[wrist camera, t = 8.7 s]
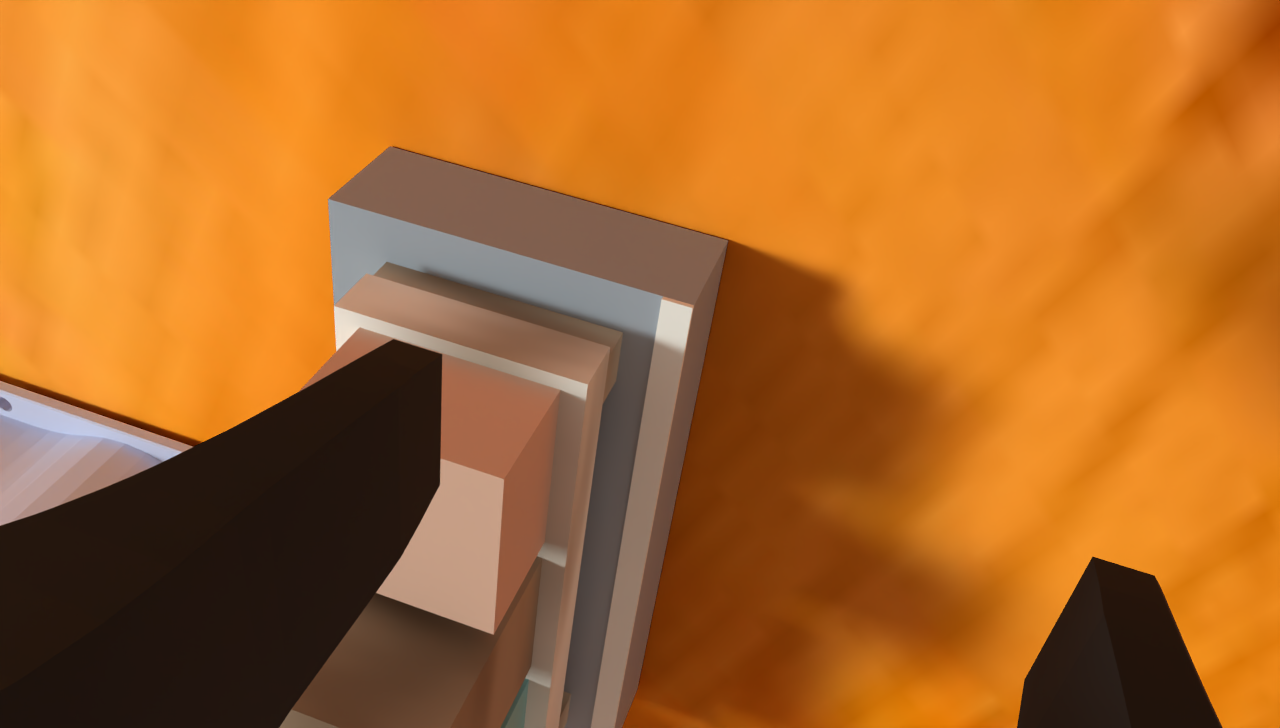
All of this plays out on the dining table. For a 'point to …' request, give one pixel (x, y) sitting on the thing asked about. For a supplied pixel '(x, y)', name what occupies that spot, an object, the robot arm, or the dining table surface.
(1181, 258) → the dining table surface
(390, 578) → the block
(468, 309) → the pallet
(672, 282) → the dock
